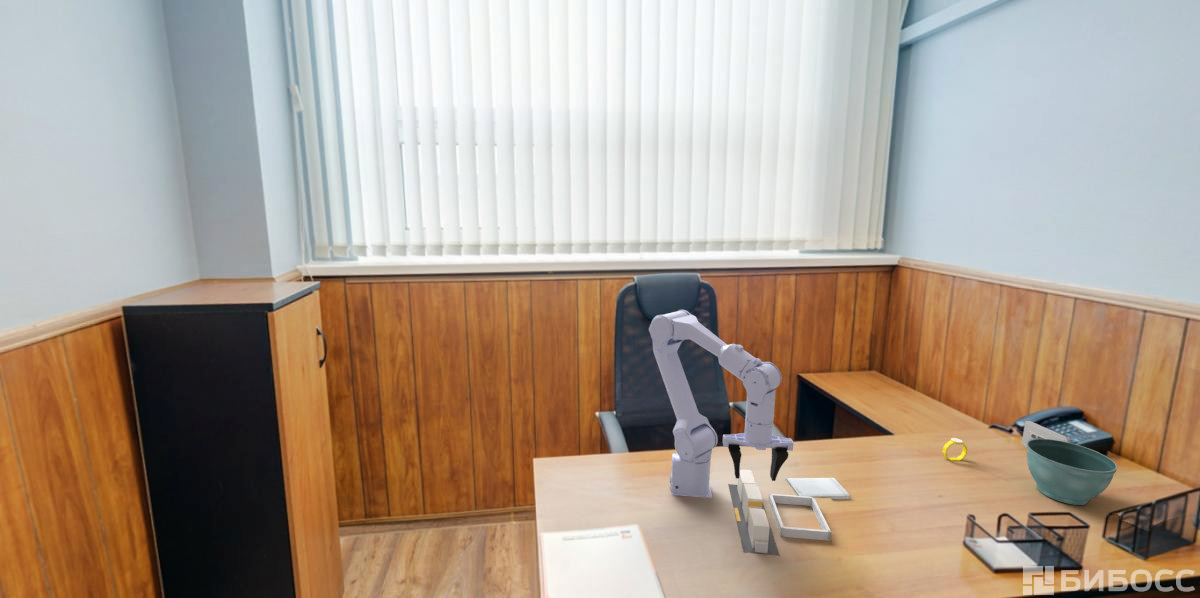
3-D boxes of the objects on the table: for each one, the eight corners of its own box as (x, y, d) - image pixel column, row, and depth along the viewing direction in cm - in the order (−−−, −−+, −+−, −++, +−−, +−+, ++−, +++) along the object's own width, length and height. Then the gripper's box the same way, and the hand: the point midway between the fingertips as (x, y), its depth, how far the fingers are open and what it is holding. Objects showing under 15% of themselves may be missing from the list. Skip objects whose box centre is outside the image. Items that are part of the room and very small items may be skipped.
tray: (780, 538, 109) (781, 528, 108) (768, 503, 121) (769, 493, 121) (830, 543, 108) (831, 532, 107) (812, 506, 120) (813, 496, 120)
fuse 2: (752, 547, 105) (754, 525, 104) (747, 529, 111) (749, 508, 110) (767, 549, 105) (769, 526, 104) (762, 530, 110) (763, 509, 109)
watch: (959, 458, 144) (964, 438, 143) (967, 463, 142) (971, 443, 140) (938, 456, 144) (943, 436, 143) (945, 461, 141) (950, 441, 140)
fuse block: (743, 554, 104) (744, 543, 103) (728, 486, 128) (728, 476, 128) (779, 557, 103) (780, 546, 102) (757, 488, 127) (757, 478, 127)
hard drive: (799, 496, 123) (850, 494, 123) (785, 477, 131) (833, 476, 131) (798, 502, 123) (849, 501, 124) (785, 483, 131) (833, 482, 132)
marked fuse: (746, 523, 113) (748, 498, 111) (742, 507, 119) (743, 483, 117) (760, 524, 112) (762, 499, 111) (755, 508, 118) (757, 484, 117)
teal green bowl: (1090, 486, 130) (1099, 446, 128) (1121, 522, 116) (1131, 477, 114) (1011, 471, 137) (1018, 433, 135) (1031, 503, 122) (1039, 461, 120)
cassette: (1019, 444, 152) (1023, 420, 151) (1025, 444, 152) (1029, 419, 151) (1061, 465, 141) (1066, 439, 139) (1066, 464, 141) (1072, 438, 139)
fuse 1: (740, 502, 120) (742, 482, 120) (737, 488, 126) (738, 469, 125) (754, 503, 120) (755, 483, 119) (749, 489, 126) (751, 470, 125)
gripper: (727, 425, 108) (723, 484, 111) (799, 429, 106) (793, 489, 109) (723, 411, 115) (719, 468, 117) (790, 415, 113) (785, 472, 116)
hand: (754, 477), depth 114 cm, fingers open, 7 cm apart
